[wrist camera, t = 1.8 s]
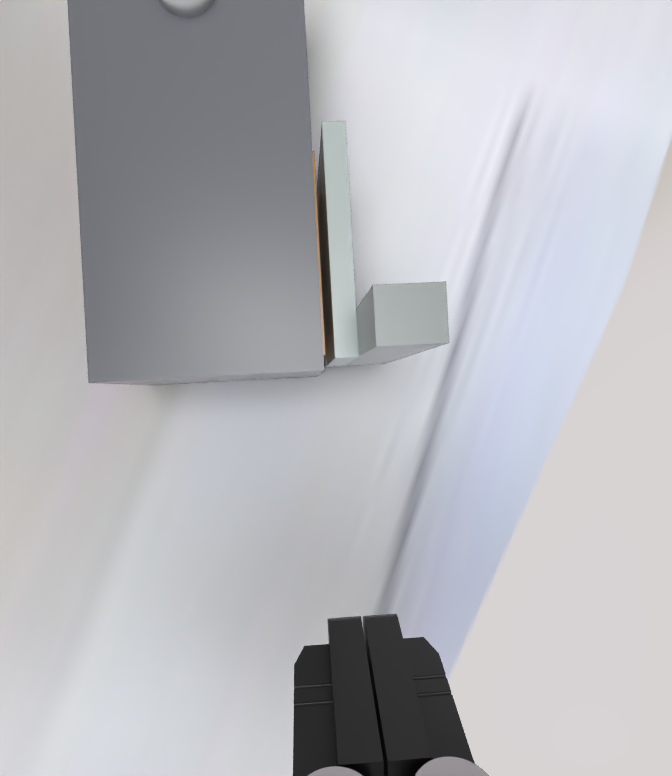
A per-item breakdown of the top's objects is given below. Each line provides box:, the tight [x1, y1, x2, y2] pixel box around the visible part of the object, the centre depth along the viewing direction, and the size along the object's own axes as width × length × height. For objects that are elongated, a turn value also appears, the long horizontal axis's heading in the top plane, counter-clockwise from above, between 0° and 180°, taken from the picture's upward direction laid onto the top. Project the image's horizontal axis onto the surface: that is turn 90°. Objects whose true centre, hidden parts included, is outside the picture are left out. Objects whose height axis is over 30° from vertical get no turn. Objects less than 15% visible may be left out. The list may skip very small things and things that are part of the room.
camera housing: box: [68, 0, 325, 385], centre depth 29 cm, size 22×10×11 cm, turn 3°
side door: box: [316, 121, 449, 367], centre depth 27 cm, size 10×3×15 cm, turn 3°
